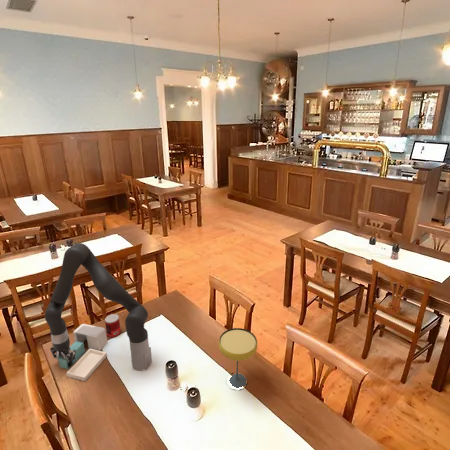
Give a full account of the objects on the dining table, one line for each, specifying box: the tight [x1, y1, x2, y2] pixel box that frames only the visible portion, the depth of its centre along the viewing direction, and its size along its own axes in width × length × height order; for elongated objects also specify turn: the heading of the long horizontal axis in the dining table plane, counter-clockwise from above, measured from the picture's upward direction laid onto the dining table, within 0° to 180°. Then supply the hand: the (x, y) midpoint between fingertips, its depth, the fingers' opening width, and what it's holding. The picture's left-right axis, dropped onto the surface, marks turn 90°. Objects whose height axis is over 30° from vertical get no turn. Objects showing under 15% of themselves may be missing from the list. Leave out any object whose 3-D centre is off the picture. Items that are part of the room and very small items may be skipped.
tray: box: [66, 348, 108, 382], centre depth 162 cm, size 11×18×3 cm, turn 165°
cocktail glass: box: [218, 327, 258, 388], centre depth 150 cm, size 18×18×25 cm
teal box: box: [57, 340, 86, 370], centre depth 166 cm, size 5×13×7 cm, turn 164°
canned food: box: [104, 313, 122, 338], centre depth 185 cm, size 8×8×11 cm
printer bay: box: [72, 323, 108, 351], centre depth 176 cm, size 15×8×10 cm, turn 75°
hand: (65, 364), depth 162 cm, fingers closed on teal box, 5 cm apart
